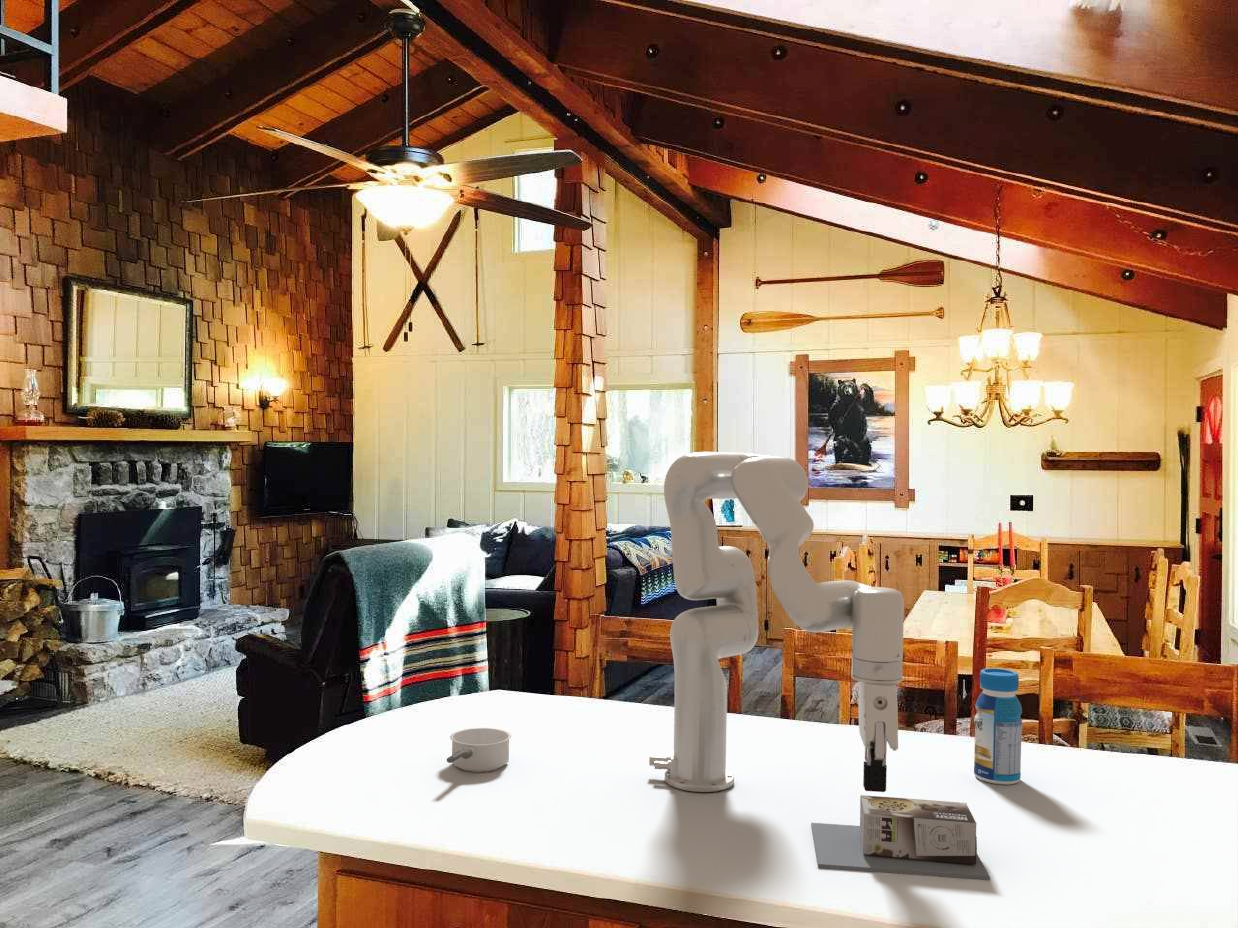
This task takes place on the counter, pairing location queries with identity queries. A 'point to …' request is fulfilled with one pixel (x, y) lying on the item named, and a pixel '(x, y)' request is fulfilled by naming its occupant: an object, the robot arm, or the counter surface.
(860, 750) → the counter surface
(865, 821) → the coffee box
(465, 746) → the saucepan
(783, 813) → the counter surface
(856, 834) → the slate mat
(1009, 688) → the beverage bottle
